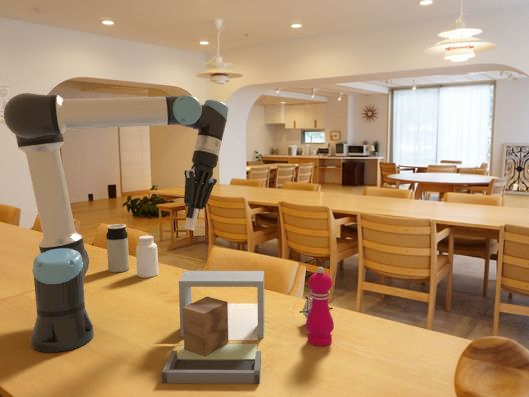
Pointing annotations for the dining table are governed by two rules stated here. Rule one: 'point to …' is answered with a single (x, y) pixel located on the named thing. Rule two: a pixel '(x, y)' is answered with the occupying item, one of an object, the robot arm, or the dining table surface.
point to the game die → (308, 307)
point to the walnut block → (205, 325)
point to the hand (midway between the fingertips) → (189, 229)
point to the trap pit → (212, 370)
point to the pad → (223, 353)
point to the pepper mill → (320, 310)
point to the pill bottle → (146, 257)
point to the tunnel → (239, 314)
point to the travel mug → (117, 248)
